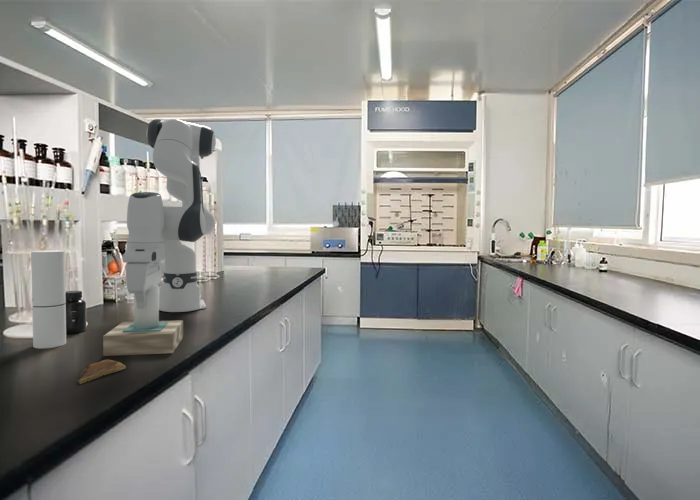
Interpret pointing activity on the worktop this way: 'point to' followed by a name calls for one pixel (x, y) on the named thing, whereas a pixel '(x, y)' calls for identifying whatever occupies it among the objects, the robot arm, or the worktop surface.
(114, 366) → the shard
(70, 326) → the supplement bottle
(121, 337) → the birch plinth
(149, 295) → the white bottle
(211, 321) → the worktop surface
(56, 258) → the cylindrical container
